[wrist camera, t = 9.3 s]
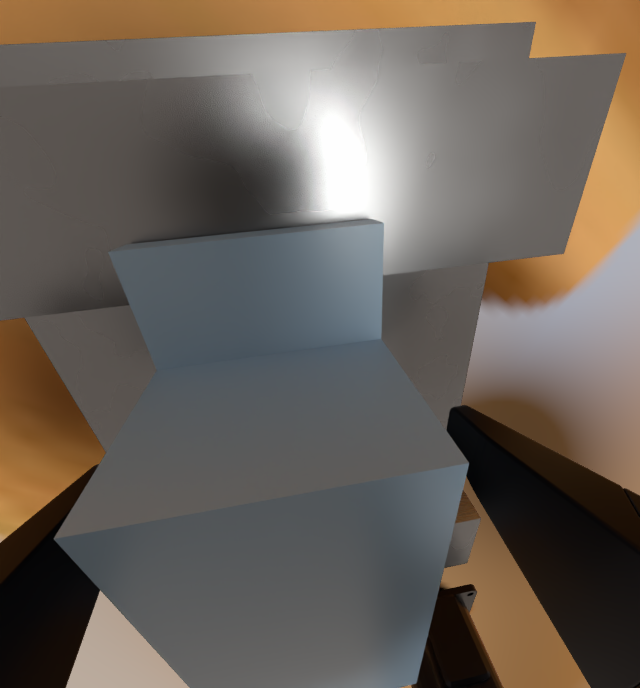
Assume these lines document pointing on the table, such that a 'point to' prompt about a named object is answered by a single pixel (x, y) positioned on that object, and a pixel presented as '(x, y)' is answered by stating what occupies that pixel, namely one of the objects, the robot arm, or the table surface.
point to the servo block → (271, 468)
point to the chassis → (288, 179)
